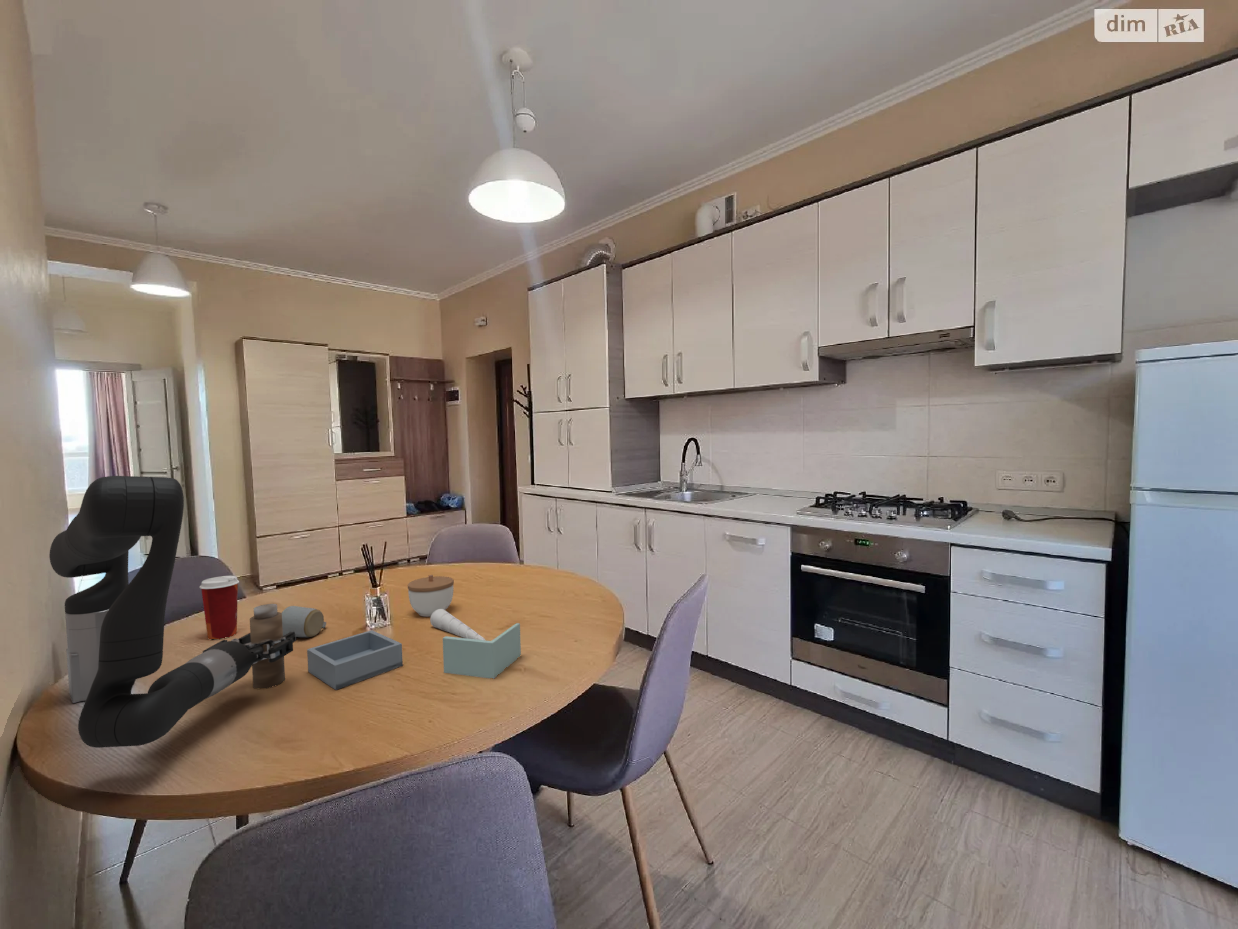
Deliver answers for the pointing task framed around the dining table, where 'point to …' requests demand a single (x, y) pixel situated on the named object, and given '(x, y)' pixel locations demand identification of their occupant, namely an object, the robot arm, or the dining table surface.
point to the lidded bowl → (430, 594)
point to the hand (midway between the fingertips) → (273, 636)
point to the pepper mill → (262, 628)
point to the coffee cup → (220, 606)
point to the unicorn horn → (452, 625)
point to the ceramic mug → (302, 621)
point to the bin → (354, 659)
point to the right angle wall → (481, 654)
